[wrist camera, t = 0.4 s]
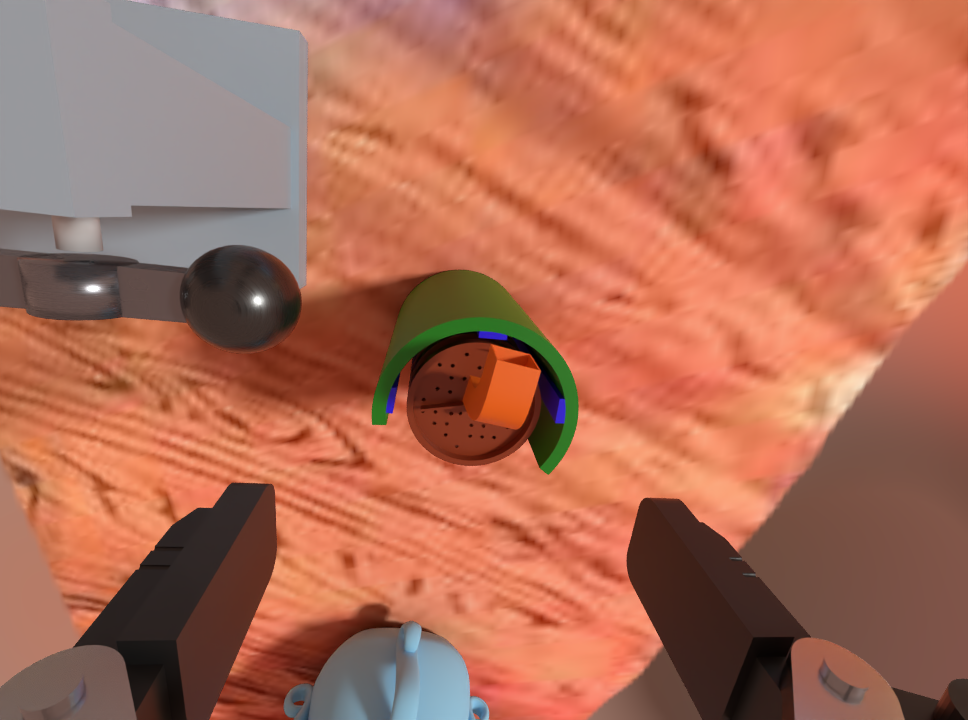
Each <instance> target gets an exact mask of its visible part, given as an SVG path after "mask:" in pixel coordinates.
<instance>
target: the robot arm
mask: <svg viewBox="0 0 968 720" xmlns="http://www.w3.org/2000/svg"><path fill="white" fill-rule="evenodd" d="M276 551H277V536H276V509H275V490H274V486H273V485H272V484H258V483H231V484H230V485H229V486H228V487H227V489H226V490H225V491H224V493H223V494H222V496H221V497H220V498H219V500H218V501H217V502H216V504H215V505H214V507H213V508H197V509H196V510H194V511H193V512H191V513H190V514H188V515H187V516H185V517H184V518H182V519H181V520H179V521H178V522H176V523H175V524H173V525H172V526H171V527H170V529H169V530H168V531H167V532H166V534H165V535H164V536H163V537H162V538H161V540H160V541H159V542H158V543H157V545H156V546H155V549H154V551H151V552H150V553H149V554H148V556H147V557H146V558H145V559H144V561H143V562H142V563H141V564H140V568H139V570H135V572H134V573H133V574H132V575H131V577H130V578H129V579H128V580H127V582H126V583H125V584H124V585H123V586H122V588H121V589H120V590H119V591H118V593H117V594H116V595H115V596H114V598H113V599H112V600H111V601H110V603H109V604H108V605H107V606H106V607H105V609H104V610H103V611H102V612H101V614H100V615H99V616H98V617H97V619H96V620H95V621H94V622H93V623H92V625H91V626H90V627H89V628H88V630H87V631H86V632H85V633H84V635H83V636H82V637H81V638H80V639H79V641H78V642H77V643H76V644H75V646H74V647H73V648H71V649H67V650H64V651H61V652H58V653H56V654H53V655H50V656H48V657H46V658H44V659H42V660H40V661H38V662H36V663H34V664H32V665H31V666H29V667H27V668H25V669H24V670H22V671H21V672H19V673H18V674H17V675H15V676H14V677H12V678H11V679H10V680H9V681H8V682H6V683H5V684H4V685H2V686H1V688H0V720H209V719H210V716H211V714H212V712H213V709H214V707H215V705H216V702H217V700H218V698H219V696H220V693H221V691H222V689H223V686H224V684H225V682H226V679H227V677H228V675H229V673H230V670H231V668H232V666H233V663H234V661H235V659H236V656H237V654H238V652H239V650H240V647H241V645H242V643H243V640H244V638H245V636H246V633H247V631H248V629H249V627H250V624H251V622H252V620H253V617H254V615H255V613H256V610H257V608H258V606H259V604H260V601H261V599H262V597H263V594H264V592H265V590H266V587H267V585H268V583H269V581H270V578H271V575H272V572H273V569H274V564H275V559H276ZM627 570H628V575H629V578H630V581H631V583H632V585H633V587H634V589H635V591H636V593H637V595H638V597H639V599H640V601H641V603H642V604H643V606H644V608H645V610H646V612H647V614H648V616H649V618H650V620H651V622H652V624H653V626H654V628H655V629H656V631H657V633H658V635H659V637H660V639H661V641H662V643H663V645H664V647H665V649H666V651H667V652H668V654H669V656H670V658H671V660H672V662H673V664H674V666H675V668H676V670H677V672H678V674H679V675H680V677H681V679H682V681H683V683H684V685H685V687H686V689H687V691H688V693H689V695H690V697H691V699H692V700H693V702H694V704H695V706H696V708H697V710H698V712H699V714H700V716H701V718H702V720H968V679H956V680H953V681H952V682H951V683H950V684H949V685H948V687H947V689H946V690H945V692H944V694H943V695H942V697H941V699H940V700H939V701H938V700H935V699H931V698H927V697H924V696H921V695H917V694H913V693H910V692H906V691H903V690H899V689H896V688H892V687H890V685H889V684H888V683H887V682H886V681H885V679H884V678H883V677H882V676H881V675H880V674H879V673H878V672H877V671H876V670H875V669H873V668H872V667H871V666H870V665H869V664H867V663H866V662H865V661H864V660H862V659H861V658H859V657H858V656H856V655H855V654H853V653H852V652H850V651H848V650H846V649H845V648H843V647H840V646H839V645H836V644H834V643H831V642H829V641H825V640H822V639H817V638H811V636H810V635H809V634H808V633H807V632H806V631H805V630H804V629H803V627H802V626H801V625H800V624H799V623H798V622H797V620H796V619H795V618H794V617H793V616H792V615H791V613H790V612H789V611H788V610H787V609H786V608H785V607H784V605H782V603H781V602H780V601H779V600H778V599H777V598H776V596H775V595H774V594H773V593H772V592H771V591H770V589H769V588H768V587H767V586H766V585H765V584H764V583H763V581H762V580H761V579H760V578H759V577H756V576H755V572H754V571H753V570H752V569H751V568H750V566H749V565H748V564H747V563H746V562H745V561H742V557H741V556H740V555H739V554H738V553H737V551H736V550H735V549H734V548H733V547H732V546H731V545H730V543H729V542H728V541H727V540H726V539H725V538H724V537H722V536H721V535H720V534H718V533H717V532H715V531H714V530H713V529H711V528H710V527H709V526H707V525H706V524H704V523H703V522H699V521H698V520H697V519H696V517H695V516H694V515H693V514H692V513H691V511H690V510H689V509H688V508H687V507H686V505H685V504H684V503H683V502H682V501H681V500H679V499H667V498H644V499H643V500H642V501H641V503H640V506H639V509H638V513H637V517H636V521H635V524H634V528H633V532H632V536H631V540H630V544H629V548H628V552H627Z"/></svg>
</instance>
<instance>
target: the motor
mask: <svg viewBox="0 0 968 720" xmlns="http://www.w3.org/2000/svg"><path fill="white" fill-rule="evenodd" d="M412 358H413V359H412ZM411 359H412V366H411V374H410V381H409V390H408V397H407V416H408V421H409V424H410V427H411V429H412V432H413V433H414V435H415V437H416V438H417V440H418V441H419V442H420V444H421V445H422V446H423V447H424V448H425V449H426V450H428V451H429V452H430V453H431V454H433V455H434V456H436V457H438V458H440V459H442V460H444V461H447V462H450V463H453V464H457V465H465V466H478V465H485V464H489V463H493V462H496V461H499V460H501V459H503V458H505V457H507V456H509V455H510V454H512V453H513V452H515V451H516V450H517V449H519V448H520V447H521V446H522V445H523V444H524V443H525V442H526V440H527V439H528V440H529V443H530V445H531V448H532V450H533V453H534V455H535V458H536V460H537V463H538V465H539V468H540V469H542V470H543V471H544V472H545V473H547V474H548V475H549V474H550V473H551V472H552V471H553V470H554V468H555V467H556V466H557V465H558V464H559V462H560V461H561V460H562V458H563V457H564V455H565V453H566V452H567V450H568V448H569V446H570V444H571V441H572V439H573V436H574V433H575V430H576V426H577V420H578V407H579V405H578V394H577V389H576V385H575V381H574V378H573V376H572V373H571V371H570V369H569V367H568V365H567V364H566V362H565V360H564V359H563V358H562V356H561V355H560V354H559V352H558V351H557V350H556V349H555V348H554V346H553V345H552V344H551V343H550V342H549V340H548V339H547V338H546V337H545V336H544V334H543V333H542V332H541V331H540V330H539V329H538V327H537V326H536V325H535V324H534V323H533V321H532V320H531V319H530V318H529V317H528V315H527V314H526V313H525V312H524V311H523V310H522V308H521V307H520V306H519V305H518V304H517V302H516V301H515V300H514V299H513V298H512V296H511V295H510V294H509V293H508V292H507V291H506V289H505V288H504V287H503V286H501V285H500V284H499V283H498V282H496V281H495V280H493V279H492V278H490V277H488V276H486V275H484V274H481V273H478V272H474V271H469V270H451V271H445V272H441V273H438V274H436V275H433V276H431V277H429V278H427V279H426V280H424V281H423V282H421V283H420V284H419V285H417V286H416V287H415V288H414V289H413V290H412V291H411V293H410V294H409V295H408V296H407V298H406V299H405V301H404V303H403V305H402V307H401V309H400V312H399V315H398V318H397V322H396V325H395V328H394V331H393V335H392V338H391V341H390V345H389V348H388V351H387V354H386V358H385V361H384V364H383V368H382V371H381V374H380V377H379V381H378V384H377V387H376V390H375V394H374V399H373V404H372V425H386V424H387V419H388V414H389V413H393V408H394V403H395V398H396V392H397V387H398V382H399V377H400V372H401V370H402V369H403V367H404V366H405V365H406V364H407V363H408V362H409V361H410V360H411Z"/></svg>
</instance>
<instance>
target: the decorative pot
mask: <svg viewBox="0 0 968 720" xmlns="http://www.w3.org/2000/svg"><path fill="white" fill-rule="evenodd" d="M421 630H422V629H421V626H420V625H419V624H418V623H416V622H414V621H409V622H406V623H404V624H403V625H402V626H401V628H372V629H367V630H363V631H361V632H358V633H357V634H355V635H353V636H352V637H350V638H349V639H348V640H346V641H345V642H344V643H343V644H342V645H341V646H339V648H338V649H337V650H336V651H335V652H334V653H333V654H332V655H331V656H330V658H329V659H328V661H327V662H326V663H325V665H324V667H323V668H322V670H321V672H320V674H319V676H318V677H317V679H316V682H315V684H314V687H313V686H312V685H310V684H307V683H304V684H299V685H297V686H295V687H293V688H292V689H291V690H290V691H289V692H288V694H287V696H286V698H285V701H284V711H285V714H286V715H287V716H288V717H291V718H294V720H489V709H488V706H487V704H486V703H485V702H484V701H483V700H482V699H481V698H479V697H477V696H470V684H469V675H468V671H467V668H466V665H465V662H464V660H463V658H462V656H461V655H460V654H459V652H458V651H457V650H456V649H455V648H454V647H453V646H452V644H450V643H449V642H448V641H447V640H446V639H444V638H443V637H441V636H439V635H436V634H433V633H429V632H425V631H421ZM301 700H303V701H305V702H304V704H303V706H302V705H294V704H293V703H294V702H296V701H301ZM473 713H475V714H476V715H478V716H479V718H480V719H475V717H474V715H473Z"/></svg>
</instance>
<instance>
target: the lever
mask: <svg viewBox="0 0 968 720" xmlns="http://www.w3.org/2000/svg"><path fill="white" fill-rule="evenodd" d="M0 306H1V307H12V308H24V309H26V312H27V313H28V314H29V315H32V316H35V317H40V318H46V319H56V320H101V319H112V318H120V317H126V318H138V319H149V320H160V321H172V322H183V323H188V325H189V326H190V328H191V329H192V330H193V332H194V333H195V334H196V335H197V336H198V337H200V338H201V339H202V340H203V341H205V342H206V343H208V344H210V345H212V346H214V347H216V348H218V349H220V350H223V351H227V352H231V353H238V354H250V353H257V352H261V351H265V350H268V349H270V348H272V347H274V346H276V345H278V344H279V343H281V342H282V341H283V340H285V339H286V338H287V337H288V336H289V334H290V333H291V332H292V331H293V329H294V328H295V326H296V324H297V322H298V319H299V317H300V312H301V306H302V300H301V292H300V288H299V285H298V283H297V281H296V279H295V277H294V275H293V274H292V272H291V271H290V270H289V268H288V267H287V266H286V265H285V264H284V263H283V262H282V261H281V260H279V259H278V258H277V257H275V256H274V255H272V254H270V253H269V252H266V251H264V250H262V249H259V248H255V247H252V246H246V245H227V246H222V247H218V248H216V249H213V250H210V251H208V252H206V253H204V254H203V255H201V256H200V257H199V258H198V259H196V260H195V261H194V262H193V263H192V264H191V265H190V267H189V268H186V267H176V266H167V265H157V264H147V263H139V261H137V260H135V259H131V258H126V257H120V256H111V255H100V254H81V253H41V252H31V251H21V250H12V249H2V248H0Z"/></svg>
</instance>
